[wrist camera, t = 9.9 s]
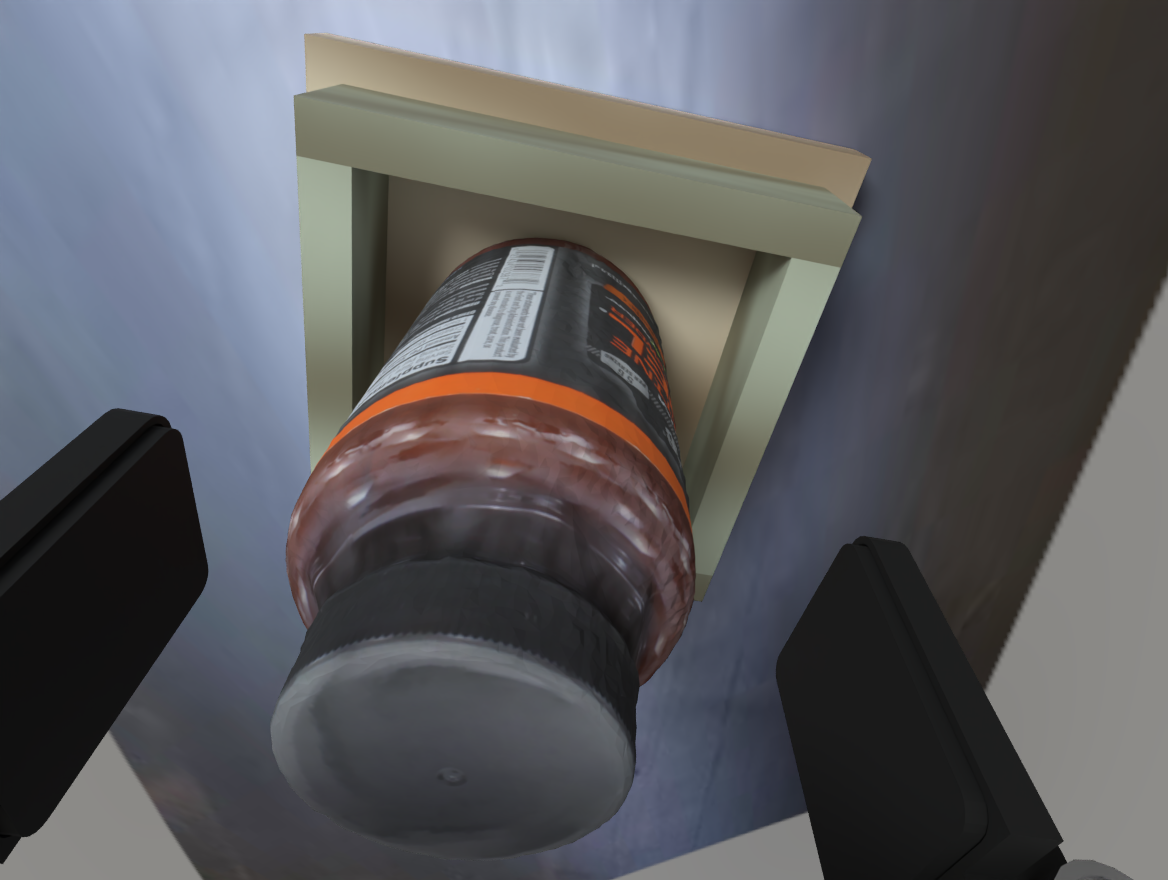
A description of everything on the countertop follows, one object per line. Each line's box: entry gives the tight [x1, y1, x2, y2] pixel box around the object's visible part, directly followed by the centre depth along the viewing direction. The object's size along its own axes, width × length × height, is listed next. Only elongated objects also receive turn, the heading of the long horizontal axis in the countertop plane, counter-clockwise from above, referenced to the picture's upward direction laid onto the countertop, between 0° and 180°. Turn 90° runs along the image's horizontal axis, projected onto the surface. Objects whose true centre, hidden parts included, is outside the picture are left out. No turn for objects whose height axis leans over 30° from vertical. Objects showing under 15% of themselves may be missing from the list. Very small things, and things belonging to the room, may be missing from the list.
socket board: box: [294, 33, 871, 602], centre depth 16 cm, size 12×12×4 cm
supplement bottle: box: [270, 238, 696, 861], centre depth 12 cm, size 6×6×11 cm
